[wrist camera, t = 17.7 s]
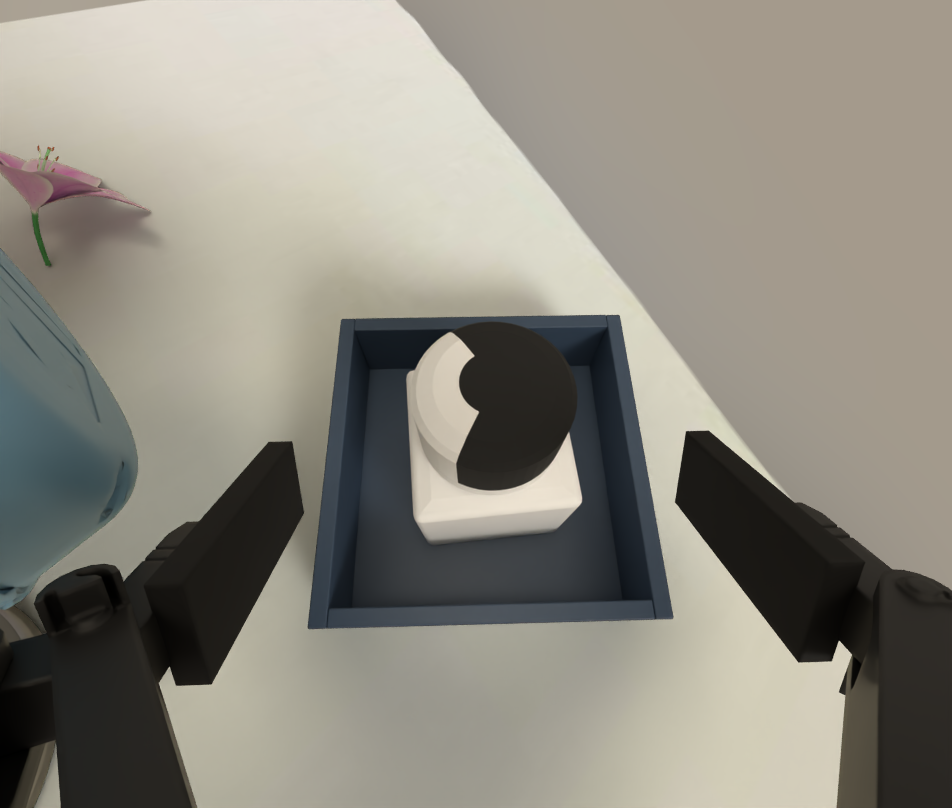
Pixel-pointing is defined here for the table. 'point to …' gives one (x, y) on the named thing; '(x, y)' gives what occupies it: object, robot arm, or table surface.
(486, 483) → the medicine bottle
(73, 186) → the lily
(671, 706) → the table surface
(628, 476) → the tote
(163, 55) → the table surface
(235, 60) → the table surface
